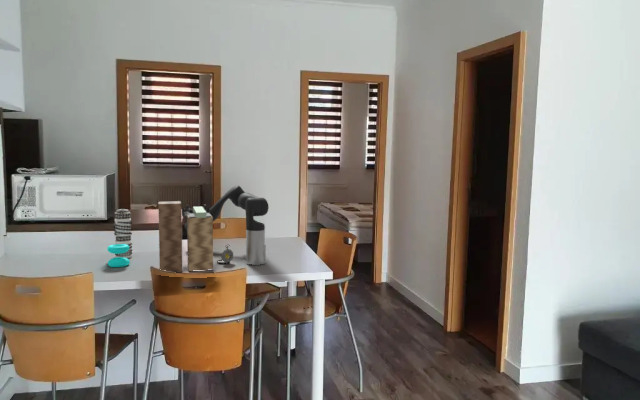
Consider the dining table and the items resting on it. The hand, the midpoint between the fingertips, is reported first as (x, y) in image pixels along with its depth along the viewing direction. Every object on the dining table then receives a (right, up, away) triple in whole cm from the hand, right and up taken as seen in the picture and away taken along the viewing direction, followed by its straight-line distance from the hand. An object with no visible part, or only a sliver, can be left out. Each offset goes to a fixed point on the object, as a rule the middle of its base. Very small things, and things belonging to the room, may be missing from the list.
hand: (196, 206), depth 256 cm
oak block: (+6, -29, -17) cm, 35 cm away
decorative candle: (-40, -27, +6) cm, 48 cm away
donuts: (-35, -29, -13) cm, 47 cm away
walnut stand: (-7, -30, -20) cm, 37 cm away
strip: (+6, -3, -18) cm, 20 cm away
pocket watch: (+16, -29, -6) cm, 33 cm away
